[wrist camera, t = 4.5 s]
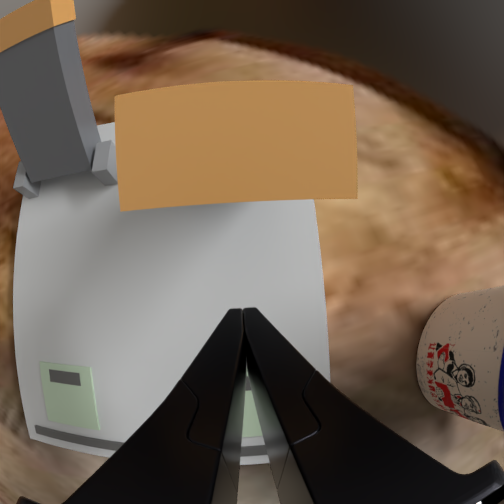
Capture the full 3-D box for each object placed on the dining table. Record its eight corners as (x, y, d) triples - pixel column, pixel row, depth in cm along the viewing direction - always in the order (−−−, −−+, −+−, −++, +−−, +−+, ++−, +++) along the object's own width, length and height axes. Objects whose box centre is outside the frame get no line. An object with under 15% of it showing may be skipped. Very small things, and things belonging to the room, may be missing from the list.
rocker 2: (279, 178, 17) (357, 198, 6) (189, 183, 17) (120, 211, 6) (278, 134, 16) (352, 85, 6) (187, 139, 16) (115, 96, 5)
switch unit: (324, 444, 16) (341, 468, 12) (40, 432, 15) (14, 445, 11) (294, 120, 20) (303, 88, 17) (44, 150, 19) (23, 128, 16)
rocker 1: (93, 171, 16) (49, -7, 7) (29, 183, 15) (-22, 33, 7) (105, 148, 17) (72, -11, 9) (45, 161, 17) (4, 22, 8)
